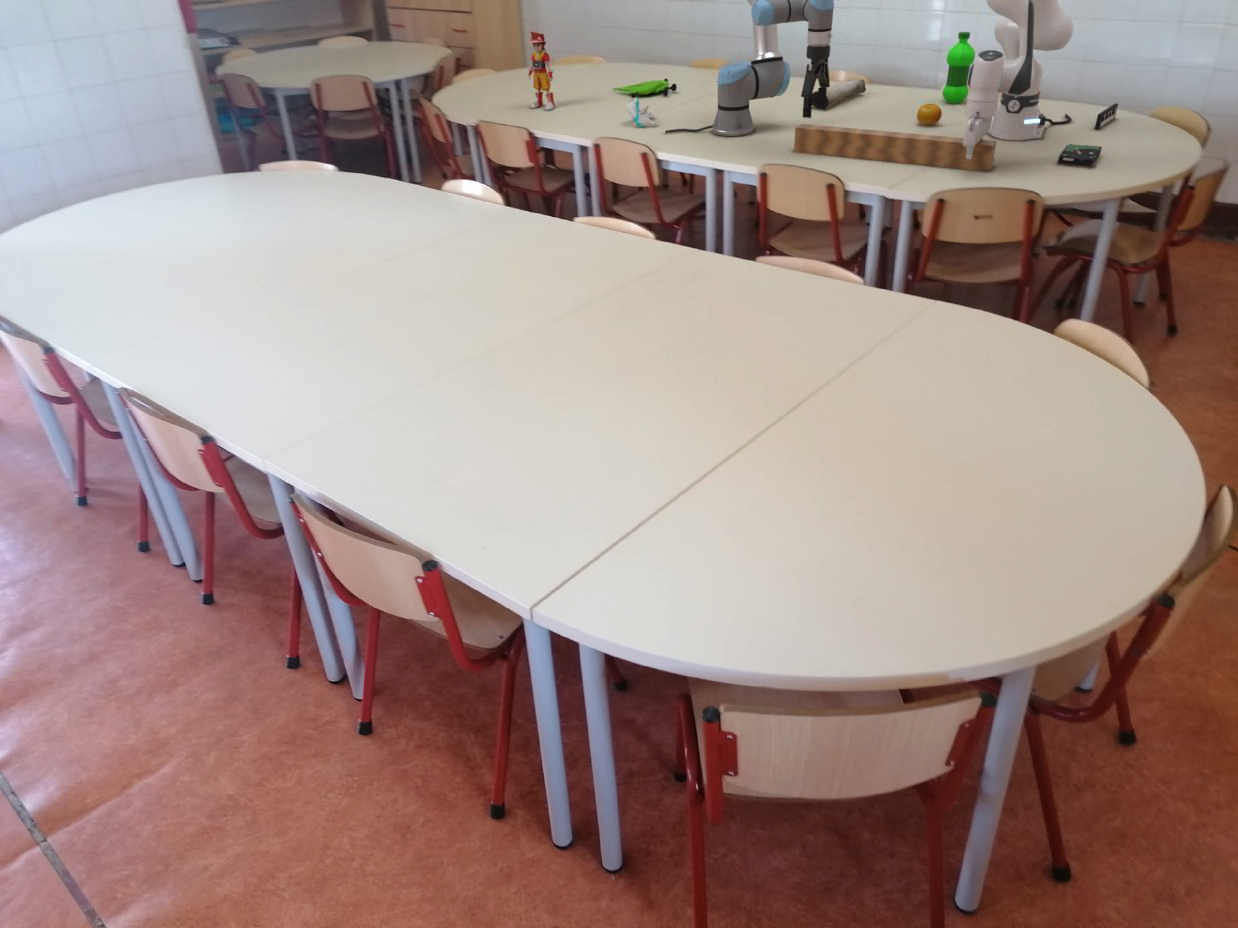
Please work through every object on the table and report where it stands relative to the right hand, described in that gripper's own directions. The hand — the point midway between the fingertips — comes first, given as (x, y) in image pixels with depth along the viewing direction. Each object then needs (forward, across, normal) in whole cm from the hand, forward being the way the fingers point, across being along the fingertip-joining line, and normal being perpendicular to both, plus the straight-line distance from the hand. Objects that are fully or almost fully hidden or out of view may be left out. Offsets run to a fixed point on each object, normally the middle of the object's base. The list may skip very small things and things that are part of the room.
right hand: (972, 154), depth 285 cm
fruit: (+4, +46, +26) cm, 53 cm away
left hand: (-8, 0, +54) cm, 54 cm away
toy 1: (+5, +20, +182) cm, 184 cm away
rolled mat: (+3, +69, +70) cm, 98 cm away
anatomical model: (+5, +12, +129) cm, 130 cm away
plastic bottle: (+3, +82, +26) cm, 86 cm away
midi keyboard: (+3, +67, -30) cm, 73 cm away
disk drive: (+4, +20, -29) cm, 35 cm away
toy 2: (+4, +58, +156) cm, 166 cm away
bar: (+4, 0, +26) cm, 27 cm away
